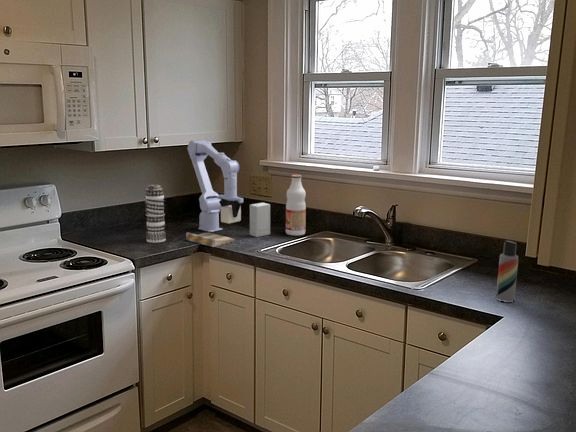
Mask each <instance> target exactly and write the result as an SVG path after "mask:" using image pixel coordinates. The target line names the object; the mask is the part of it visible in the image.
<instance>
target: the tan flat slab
mask: <svg viewBox="0 0 576 432" xmlns="http://www.w3.org/2000/svg"><path fill="white" fill-rule="evenodd" d="M185 234H186V235H185V237H186V238H185V240H187V241H189V242H192V243H197V244H200V245H204V246H208V247H212V248H215V247H218V246H223V245H226V243H227V244H231V243H230V242H232V243H235V242H236V238H232V237H229V236H224V235H222V234H216V233H212V232H208V231H207V232H204V233H200V234H196V233H192V232H186V233H185ZM234 241H235V242H234ZM222 244H223V245H222Z"/></svg>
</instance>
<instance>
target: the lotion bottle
mask: <svg viewBox="0 0 576 432" xmlns="http://www.w3.org/2000/svg"><path fill="white" fill-rule="evenodd" d="M517 245H518V244H517V242H515V241H513V240H505V241H504V242H503V251H502V253H500V255H499V259H498V261H499V262H498V273H497V282H496V294H495V295H496V296H495V298H496V297H497V298H498V299H501V300H506V301H512V300H514V301H515V298H516V289H517V279H518V277H517V276H518V266H519V255H518V254H517Z"/></svg>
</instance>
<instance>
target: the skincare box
mask: <svg viewBox="0 0 576 432" xmlns="http://www.w3.org/2000/svg"><path fill="white" fill-rule="evenodd" d="M269 235H271V204H270V203H266V202H258V203H252V204H249V236H253V237H255V238H258V237H260V238H261V237H263V236H269Z"/></svg>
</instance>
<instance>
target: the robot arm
mask: <svg viewBox="0 0 576 432" xmlns="http://www.w3.org/2000/svg"><path fill="white" fill-rule="evenodd" d="M187 152H188V155H189V159H190V160H191V163H192V166H193V169H194V172H195V175H196V178H197V181H198V184H199V187H200V191H201V195H200V196H199V198H198V201H199V208H200V210H201V212H200V213H199V215H198V216H199V217H198V218H199V220H198V221H199V225H198V226H199V227H198V228H197V229H198V230H201V231H203V232H204V231H205V232H207V233H208V232H209V233H212V232H218V231H222V230H223V229H224V228H222V227H220V218H219V217H220V216H219V215H220V213H221V207H224V206H229V205H231V206H232V211H233V217H237V215H238V211H239V209H240V206H241V207H242V205H243V204H244V198H243V197H241V196H238V186H237V185H238V173H239V171H240V163H239V162H238V161H237V160H235V159H234V160H232V159H231V158H230V157H228V156H227V155H226V154H225V152H218V150H217V149H216V148H214V147H213V145H212V142H211V141H209V140H208V139H203V140H190V141H189V142H188V145H187ZM208 156H209V157H211V158H212V159H213V162H214V163H215V164H216V165H217V166H218V167H220V169H221V172H222V176H223V179H224V181H223V182H224V184H223V185H224V186H223V187H224V190H223V192H224V194H219V193H218V192H216V191H214V190H213V187H212V183H211V180H210V177H209V174H208V171H207V169H206V165H205V162H204V161H205V159H207V158H208Z"/></svg>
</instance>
